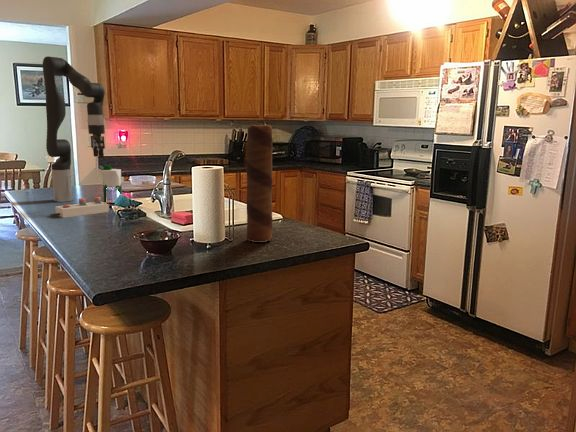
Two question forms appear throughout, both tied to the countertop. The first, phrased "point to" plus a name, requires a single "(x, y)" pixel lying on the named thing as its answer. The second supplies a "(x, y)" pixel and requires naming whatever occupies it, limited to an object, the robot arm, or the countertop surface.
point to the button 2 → (82, 201)
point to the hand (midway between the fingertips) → (98, 157)
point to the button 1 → (66, 206)
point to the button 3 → (97, 199)
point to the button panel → (81, 209)
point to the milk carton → (111, 179)
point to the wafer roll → (259, 182)
